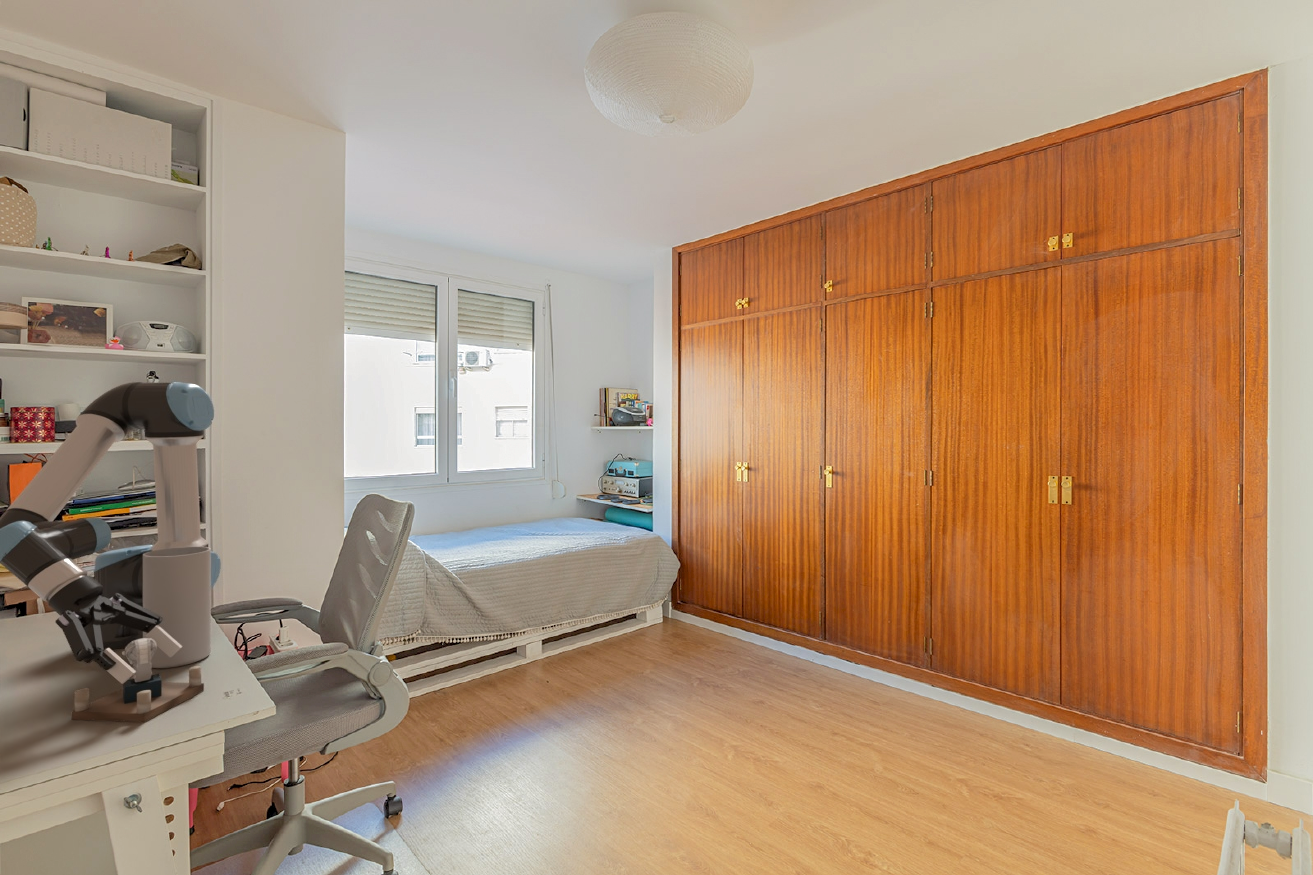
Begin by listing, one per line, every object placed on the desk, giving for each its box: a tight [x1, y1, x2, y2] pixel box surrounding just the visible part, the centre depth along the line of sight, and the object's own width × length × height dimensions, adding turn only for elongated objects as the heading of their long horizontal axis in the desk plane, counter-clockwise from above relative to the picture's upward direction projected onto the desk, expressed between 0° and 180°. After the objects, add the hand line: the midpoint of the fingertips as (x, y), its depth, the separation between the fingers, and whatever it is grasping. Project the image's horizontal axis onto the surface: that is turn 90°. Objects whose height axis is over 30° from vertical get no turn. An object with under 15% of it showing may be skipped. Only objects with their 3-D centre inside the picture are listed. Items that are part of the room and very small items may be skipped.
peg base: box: [70, 665, 205, 723], centre depth 122 cm, size 14×14×5 cm
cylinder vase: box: [143, 546, 212, 669], centre depth 146 cm, size 12×12×25 cm
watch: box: [121, 638, 163, 704], centre depth 122 cm, size 6×8×11 cm
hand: (154, 664), depth 123 cm, fingers open, 13 cm apart
